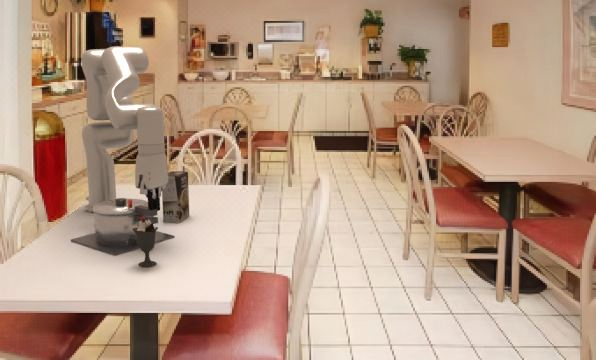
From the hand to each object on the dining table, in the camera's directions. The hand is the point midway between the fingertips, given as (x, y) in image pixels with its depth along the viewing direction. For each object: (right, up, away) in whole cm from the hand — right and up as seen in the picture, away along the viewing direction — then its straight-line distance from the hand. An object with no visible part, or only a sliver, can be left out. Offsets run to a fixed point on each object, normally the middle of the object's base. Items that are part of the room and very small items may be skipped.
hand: (154, 210), depth 183 cm
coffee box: (+1, -5, +30) cm, 31 cm away
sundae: (+2, -14, -15) cm, 21 cm away
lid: (-8, 0, +3) cm, 9 cm away
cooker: (-10, -10, +6) cm, 15 cm away
